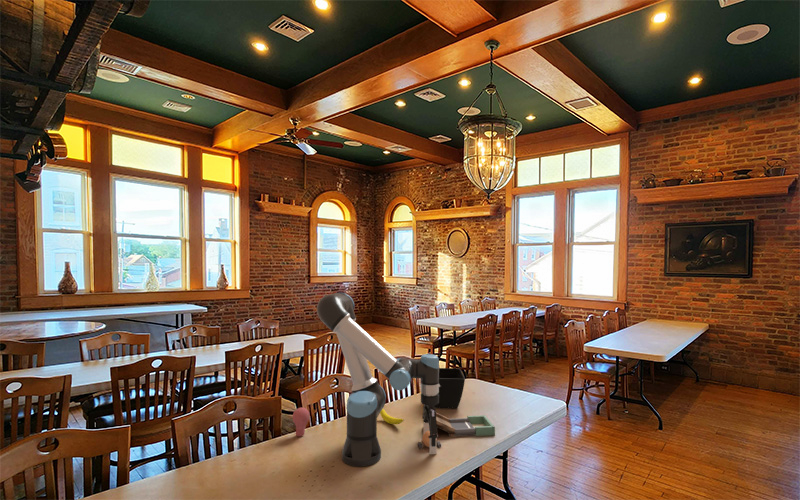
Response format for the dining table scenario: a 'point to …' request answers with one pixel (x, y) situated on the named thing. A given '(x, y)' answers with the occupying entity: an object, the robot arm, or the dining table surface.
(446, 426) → the ramp
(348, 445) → the robot arm
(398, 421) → the banana
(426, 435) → the ball
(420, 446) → the grey flat pieces
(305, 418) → the light bulb
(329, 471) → the dining table surface
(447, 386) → the flower pot
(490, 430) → the green open tray
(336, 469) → the dining table surface
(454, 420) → the runway
